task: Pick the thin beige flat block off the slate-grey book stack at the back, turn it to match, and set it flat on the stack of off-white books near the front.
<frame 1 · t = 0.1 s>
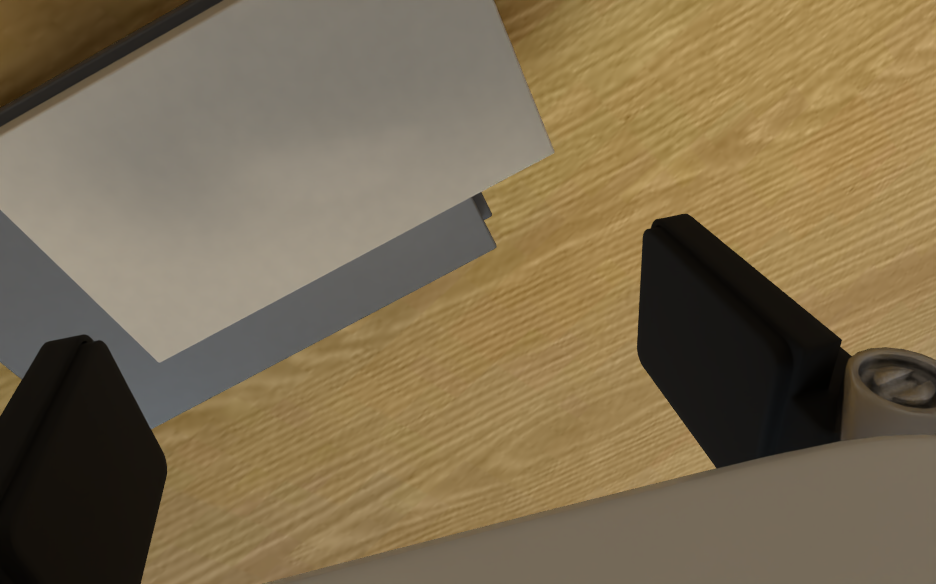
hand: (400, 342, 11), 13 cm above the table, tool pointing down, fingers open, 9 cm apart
beige flat block: (284, 127, 17), point 4 cm above the table, touching grey books
grey books: (225, 177, 22), on the table
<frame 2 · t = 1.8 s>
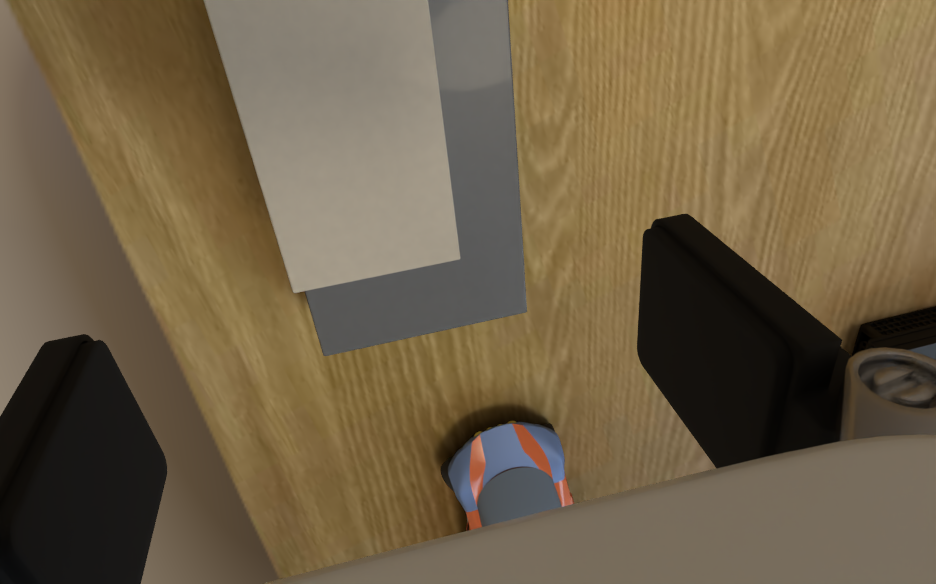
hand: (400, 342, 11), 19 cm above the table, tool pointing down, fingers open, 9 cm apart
game console: (922, 450, 52), on the table
beige flat block: (341, 104, 23), point 4 cm above the table, touching grey books
toy car: (509, 482, 43), on the table
grey books: (386, 148, 29), on the table
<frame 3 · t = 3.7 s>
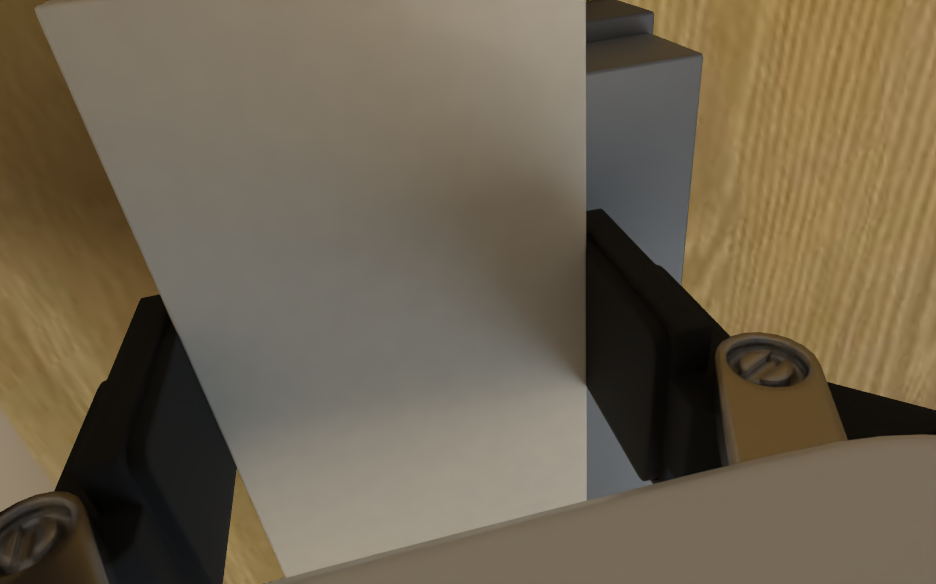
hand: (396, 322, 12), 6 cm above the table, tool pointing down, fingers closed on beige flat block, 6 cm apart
beige flat block: (389, 289, 13), point 4 cm above the table, touching grey books, gripper
grey books: (445, 302, 18), on the table
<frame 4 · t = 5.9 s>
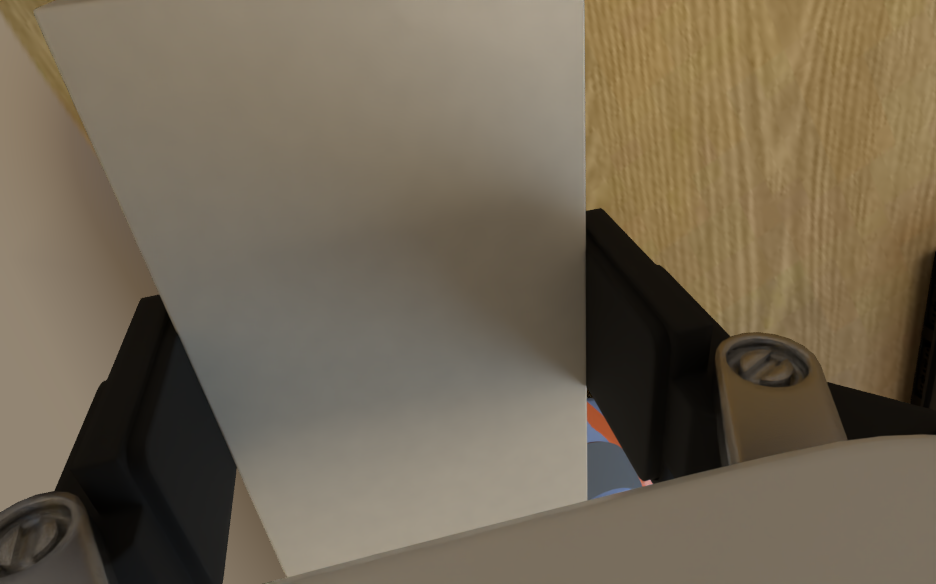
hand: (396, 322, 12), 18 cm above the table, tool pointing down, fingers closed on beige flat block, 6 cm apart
beige flat block: (389, 290, 13), point 17 cm above the table, touching gripper
toy car: (583, 458, 43), on the table
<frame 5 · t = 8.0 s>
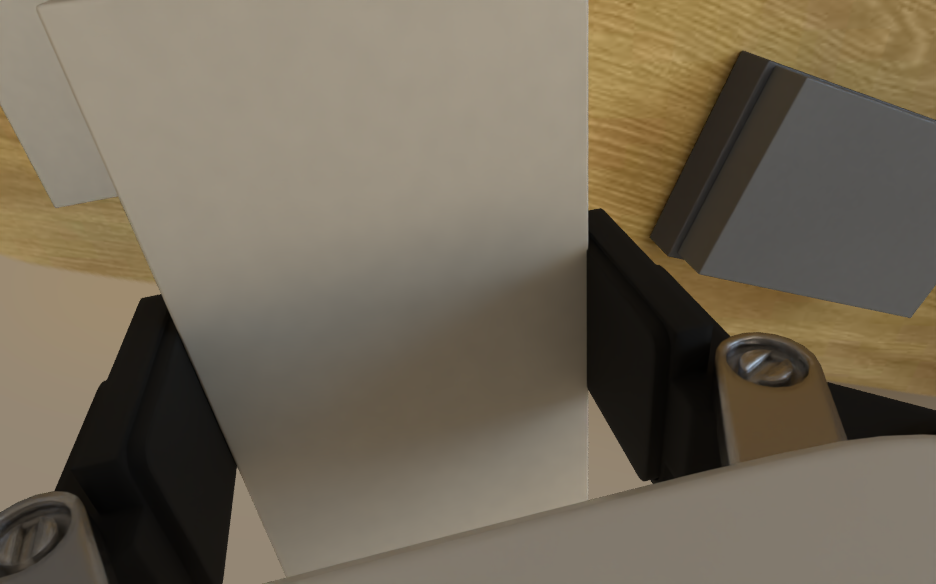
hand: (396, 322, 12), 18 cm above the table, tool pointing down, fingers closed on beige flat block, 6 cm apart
beige flat block: (390, 289, 13), point 17 cm above the table, touching gripper
white books: (115, 3, 24), on the table
grey books: (804, 182, 34), on the table
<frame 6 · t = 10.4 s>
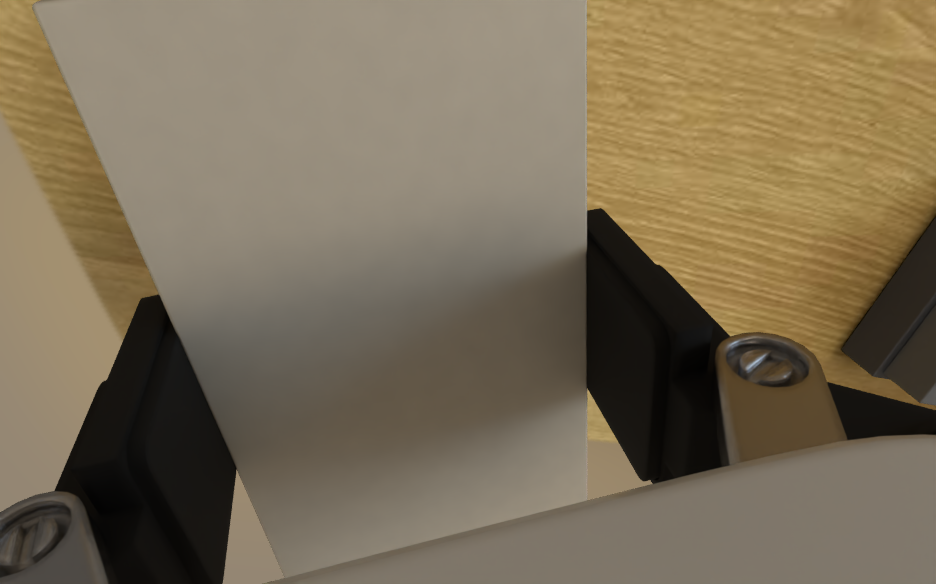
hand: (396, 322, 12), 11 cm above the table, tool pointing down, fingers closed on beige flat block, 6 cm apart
beige flat block: (389, 289, 13), point 10 cm above the table, touching gripper
when the fingers open (5 cm above the table, at t = 12.4 s): beige flat block stays where it is, resting on white books.
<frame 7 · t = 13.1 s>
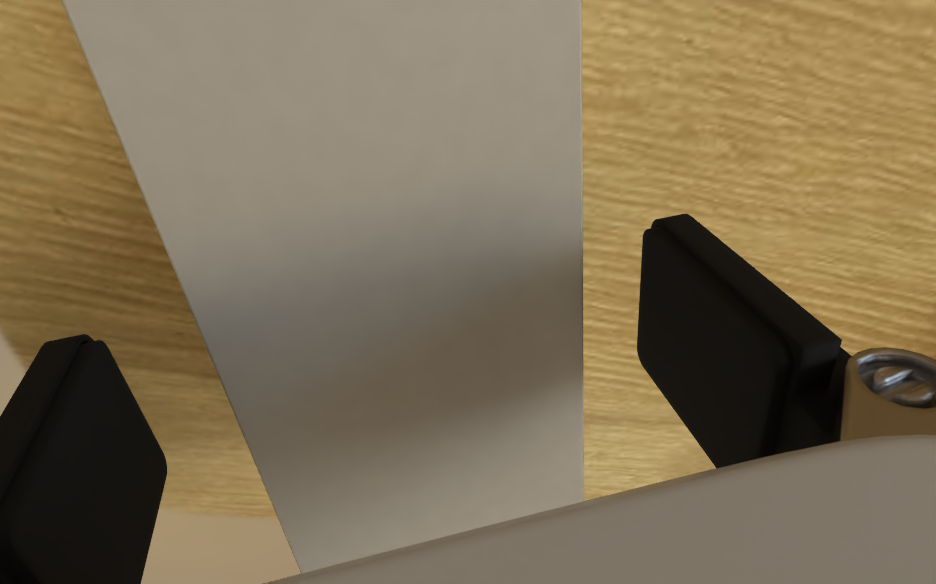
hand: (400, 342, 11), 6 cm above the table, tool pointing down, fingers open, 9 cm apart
beige flat block: (392, 268, 13), point 4 cm above the table, touching white books
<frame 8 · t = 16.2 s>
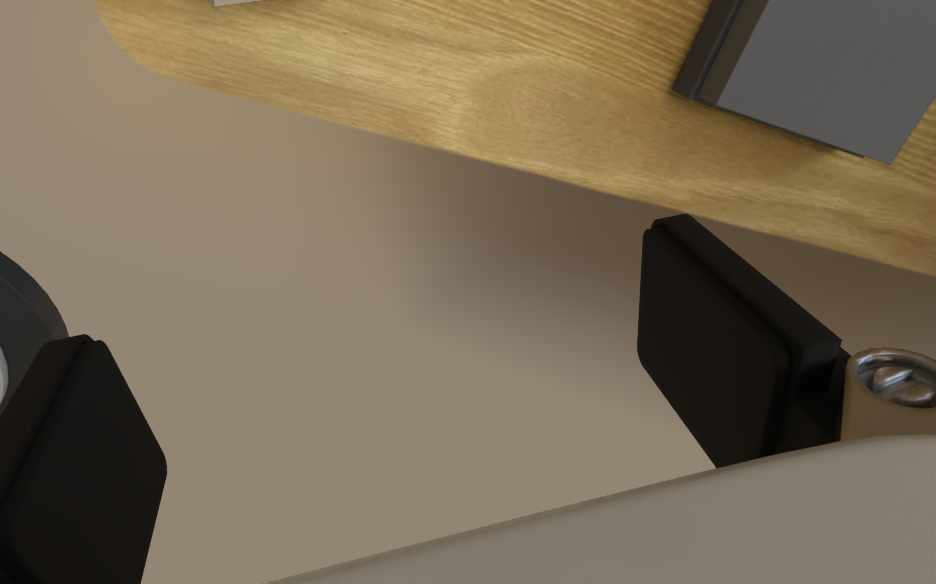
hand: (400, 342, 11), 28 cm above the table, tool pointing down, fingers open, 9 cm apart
grey books: (801, 46, 41), on the table
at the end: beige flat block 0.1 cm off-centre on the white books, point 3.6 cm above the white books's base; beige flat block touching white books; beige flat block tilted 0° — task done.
